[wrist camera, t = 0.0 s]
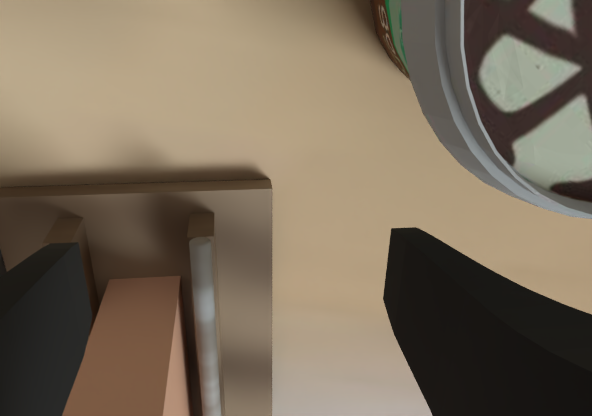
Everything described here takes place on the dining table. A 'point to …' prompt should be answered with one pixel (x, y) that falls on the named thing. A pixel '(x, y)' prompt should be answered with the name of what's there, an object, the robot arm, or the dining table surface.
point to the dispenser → (172, 267)
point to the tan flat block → (135, 353)
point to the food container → (503, 89)
